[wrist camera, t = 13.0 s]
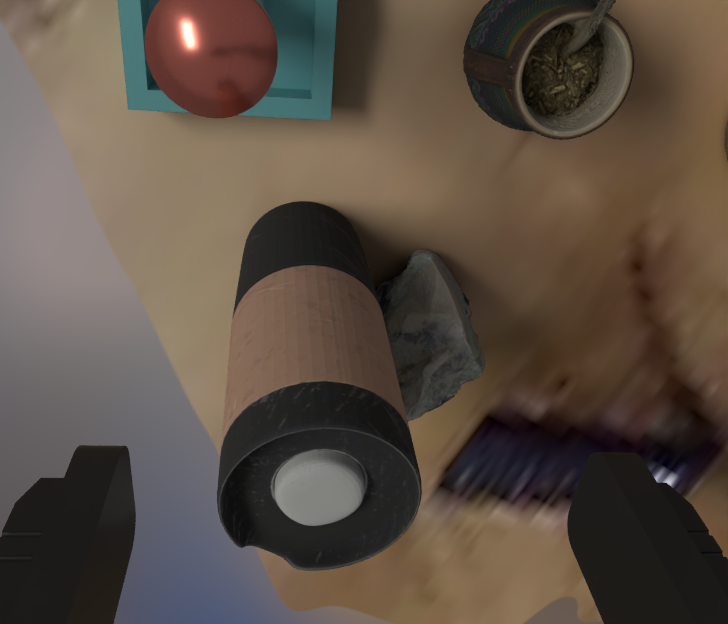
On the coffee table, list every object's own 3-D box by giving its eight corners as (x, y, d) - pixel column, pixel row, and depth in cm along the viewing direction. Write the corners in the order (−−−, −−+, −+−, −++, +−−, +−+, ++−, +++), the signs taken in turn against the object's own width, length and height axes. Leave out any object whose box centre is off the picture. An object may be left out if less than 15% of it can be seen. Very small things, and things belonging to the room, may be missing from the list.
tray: (339, -109, 32) (343, -109, 29) (327, 107, 37) (330, 120, 35) (116, -131, 30) (104, -133, 28) (136, 96, 35) (128, 109, 33)
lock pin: (277, -45, 32) (278, -14, 21) (276, 48, 34) (276, 121, 23) (187, -52, 32) (138, -26, 20) (191, 43, 34) (149, 114, 23)
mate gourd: (452, 121, 38) (502, 183, 29) (450, -29, 34) (507, -8, 25) (577, 107, 38) (663, 164, 30) (590, -43, 34) (692, -27, 26)
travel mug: (355, 185, 39) (415, 405, 22) (372, 296, 43) (434, 553, 26) (225, 208, 39) (186, 446, 22) (255, 317, 43) (241, 589, 26)
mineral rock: (283, 399, 47) (285, 510, 39) (254, 264, 41) (248, 360, 33) (465, 371, 48) (506, 475, 39) (461, 234, 42) (508, 321, 33)
